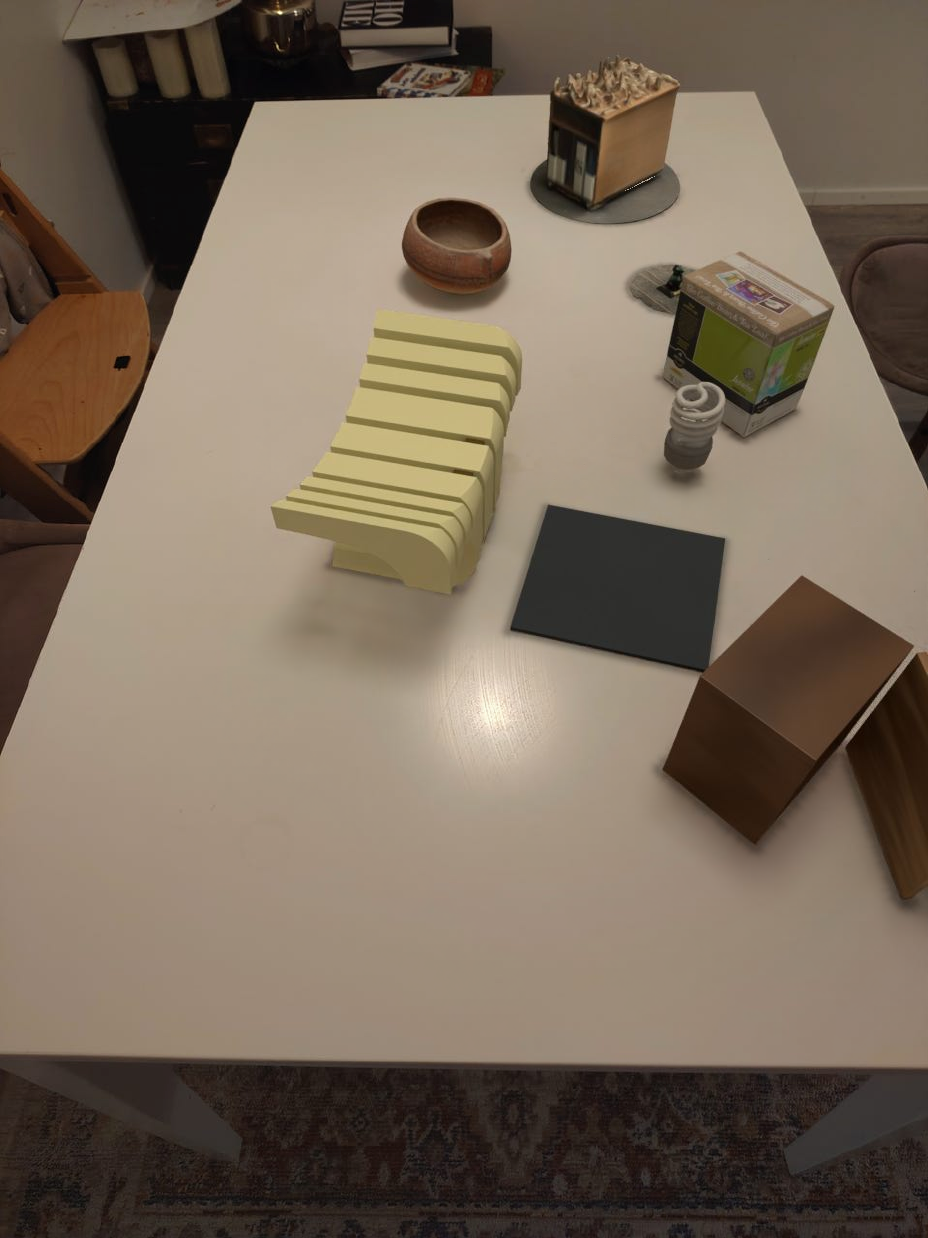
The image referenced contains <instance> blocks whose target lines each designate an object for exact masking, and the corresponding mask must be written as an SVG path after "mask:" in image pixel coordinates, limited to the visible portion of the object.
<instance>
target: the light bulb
mask: <svg viewBox="0 0 928 1238" xmlns="http://www.w3.org/2000/svg"><path fill="white" fill-rule="evenodd" d="M690 391H696V392H698V393H685V392H690ZM708 396H709V397H710V398H709V397H708ZM711 398H712V399H713V400H714V401H713V400H712V399H711ZM694 400H697V401H694ZM704 404H707V405H708V406H710V408H711V409H710V408H709V407H708V406H706V405H704ZM671 405H672V407H671V408H670V411H669V415H670V417H669V425H670V426H671V427H670V428H669V429H668V430H667V433H666V434H665V439H664V444H663V457H664V459H665V460H666V461H667V462H668V463H669V464H670V465H671V467H672V469H673V470H674V471H675V472H676V473H679V474H688V473H690V472H692V471H693V470H697V469H699V468H701V467H702V466H704V465H705V464H706V462H707V461H708V459H709V456H710V454H711V451H712V449H713V444H714V438H713V437H714V435H715V434H716V433H717V431H718V429H719V426H720V425H721V423H722V421H721V420H722V416H723V413H724V405H725V395H724V393H723V391H722V390H721V389H720V388H719V387H718V386H716V385H714V384H713V383H709V382H701V383H699V384H698V385H687V386H683V387H681V388H680V389H677V391H676V393H675V397H674V399H673V401H672V404H671ZM696 410H697V411H696ZM698 411H699V412H698Z"/></svg>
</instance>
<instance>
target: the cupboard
mask: <svg viewBox="0 0 928 1238" xmlns="http://www.w3.org/2000/svg"><path fill="white" fill-rule="evenodd" d="M914 648H915V645H914V644H912V643H911V642H909V641H908V640H906V639H904V638H903V637H901V636H899V635H898V634H897V633H895V632H893V631H892V630H890V629H888V628H887V627H886V626H884V625H882V624H880V623H879V622H877V621H876V620H874V619H872V618H871V617H870V616H868V615H866V614H864V613H863V612H861V611H860V610H858V609H857V608H855V607H854V606H852V605H850V604H849V603H847V602H845V601H844V600H842V599H840V598H839V597H838V596H837V595H834V594H833V593H831V592H829V590H827V589H825V588H823V587H822V586H820V585H818V584H817V583H815V582H813V581H812V580H810V579H809V578H808V577H806V576H804V575H800V576H799V577H798V578H797V579H796V580H795V581H794V582H793V583H792V584H790V586H789V587H788V588H787V589H786V590H785V591H784V592H783V593H782V594H781V595H780V596H779V597H778V598H777V599H776V600H775V601H774V602H773V603H772V604H771V605H770V606H769V607H768V608H767V609H766V610H764V612H763V613H762V614H761V615H760V616H758V617H757V618H756V620H755V621H754V622H753V623H751V624H750V626H749V627H748V628H747V629H746V630H744V631H743V633H741V634H740V635H739V637H737V638H736V639H735V640H734V641H733V642H732V643H731V644H730V645H729V646H728V647H727V648H726V649H725V650H724V651H723V652H722V653H721V654H720V655H718V657H717V658H716V659H715V660H714V661H713V662H712V663H711V664H709V667H708V668H707V669H706V670H705V671H704V672H701V673H700V675H699V677H698V679H697V683H696V686H695V688H694V690H693V692H692V695H691V697H690V700H689V702H688V705H687V707H686V710H685V712H684V714H683V718H682V720H681V722H680V724H679V727H678V729H677V732H676V735H675V737H674V740H673V742H672V745H671V747H670V750H669V751H668V752H669V753H668V755H667V757H666V760H665V762H664V764H663V766H662V771H663V772H664V773H665V774H667V776H669V777H670V778H671V779H673V780H674V781H676V782H677V783H678V784H679V785H680V786H681V787H683V788H684V789H686V791H688V792H689V793H690V794H691V795H692V796H694V797H695V798H696V799H698V800H699V801H700V802H701V803H703V804H704V805H705V806H706V807H707V808H709V809H710V810H711V811H712V812H713V813H715V814H716V815H717V816H718V817H719V818H721V819H722V820H723V821H725V822H726V823H727V824H728V825H729V826H731V827H732V828H733V829H735V830H736V831H737V832H738V833H739V834H740V835H742V836H743V837H744V838H745V839H747V840H748V841H749V842H751V843H752V844H753V845H754V846H756V845H757V844H758V843H759V842H760V841H761V839H762V838H763V837H764V835H766V833H767V832H768V831H769V830H770V829H771V828H772V826H773V825H774V824H775V823H776V822H777V820H778V819H779V818H780V817H781V816H782V815H783V813H784V812H785V811H786V810H787V809H788V807H789V806H790V805H791V804H792V803H793V802H794V800H795V799H796V798H797V797H798V796H799V795H800V793H801V792H802V791H803V790H804V788H805V787H806V786H807V785H809V783H810V782H811V781H812V779H813V778H814V777H815V776H816V774H817V773H819V771H820V770H821V768H822V767H823V766H824V765H825V764H826V763H827V762H828V760H829V759H830V758H831V757H832V756H833V755H834V754H835V752H836V751H837V749H839V747H840V746H841V745H842V744H843V743H844V741H845V740H846V739H847V737H848V736H849V734H850V733H851V732H852V731H853V729H854V728H855V727H856V725H857V724H858V723H859V721H860V719H861V718H862V717H863V716H864V714H865V713H866V712H867V710H868V709H869V708H870V706H872V704H873V703H874V701H875V700H876V698H877V697H878V696H879V695H880V693H881V692H882V691H883V689H884V688H885V687H886V686H887V684H888V682H889V681H890V680H891V678H892V677H893V676H894V675H895V673H896V672H897V670H898V669H899V668H900V667H901V665H902V664H903V662H904V661H905V660H906V658H907V657H908V656H909V654H910V653H911V652H912V650H913V649H914Z"/></svg>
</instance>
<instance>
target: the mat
mask: <svg viewBox="0 0 928 1238" xmlns="http://www.w3.org/2000/svg"><path fill="white" fill-rule="evenodd" d="M725 544H726V538H725V537H721V536H715V535H710V534H704V533H699V532H695V531H689V530H683V529H678V528H674V527H668V526H664V525H658V524H653V523H652V524H651V523H647V522H642V521H638V520H632V519H626V518H621V517H616V516H610V515H605V514H601V513H596V512H595V513H594V512H589V511H585V510H579V509H575V508H569V507H563V506H559V505H553V504H547V507H546V510H545V514H544V517H543V521H542V524H541V527H540V530H539V532H538V536H537V540H536V543H535V546H534V549H533V553H532V556H531V559H530V562H529V565H528V568H527V571H526V574H525V578H524V582H523V585H522V588H521V592H520V595H519V598H518V600H517V604H516V608H515V611H514V614H513V617H512V620H511V624H510V626H509V630H510V631H513V632H516V633H522V634H525V635H530V636H536V637H540V638H544V639H548V640H554V641H558V642H563V643H567V644H572V645H576V646H581V647H585V648H589V649H590V648H591V649H595V650H598V651H603V652H608V653H613V654H615V655H616V654H617V655H621V656H625V657H631V658H635V659H640V660H643V661H648V662H654V663H656V664H657V663H658V664H663V665H666V666H671V667H675V668H681V669H685V670H689V671H694V672H699V673H703V672H704V671H705V670H706V669H707V668H708V667H709V666H710V659H711V652H712V645H713V644H712V643H713V637H714V630H715V629H714V628H715V622H716V615H717V607H718V598H719V592H720V591H719V590H720V584H721V583H720V582H721V575H722V569H723V560H724V552H725Z"/></svg>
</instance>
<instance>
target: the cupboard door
mask: <svg viewBox="0 0 928 1238" xmlns="http://www.w3.org/2000/svg"><path fill="white" fill-rule="evenodd" d="M844 749H845V752H846V754H847V758H848V760H849V763H850V766H851V768H852V771H853V774H854V776H855V779H856V781H857V784H858V786H859V789H860V792H861V794H862V797H863V800H864V803H865V805H866V808H867V810H868V813H869V816H870V819H871V822H872V825H873V826H874V829H875V832H876V834H877V837H878V840H879V842H880V845H881V848H882V850H883V853H884V856H885V858H886V861H887V864H888V866H889V869H890V872H891V875H892V877H893V879H894V882H895V885H896V888H897V891H898V893H899V897H900V898H901V900H911V899H912V898H913V897H915V896H916V895H918V894H919V893H921V891H923V890H924V889H925V888H927V887H928V652H927V651H919V652H916V653H915V654H914V656H913V657H912V658H911V659H910V661H909V662H908V664H907V665H906V666H905V667H904V669H903V670H902V672H901V673H900V674H899V676H898V677H897V678H896V679H895V681H894V682H893V683H892V685H891V686H890V687H889V688H888V690H887V691H886V692H885V694H884V695H883V696H882V698H881V699H880V700H879V702H878V703H877V705H876V706H875V707H874V708H873V709H872V711H871V712H870V714H869V715H868V716H867V718H866V719H865V720H864V721H863V723H862V724H861V725H860V727H859V728H858V729H857V730H856V731H855V733H854V734H853V736H852V737H851V738H850V740H849V741H848V743H847V744H846V745H845V746H844Z"/></svg>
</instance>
